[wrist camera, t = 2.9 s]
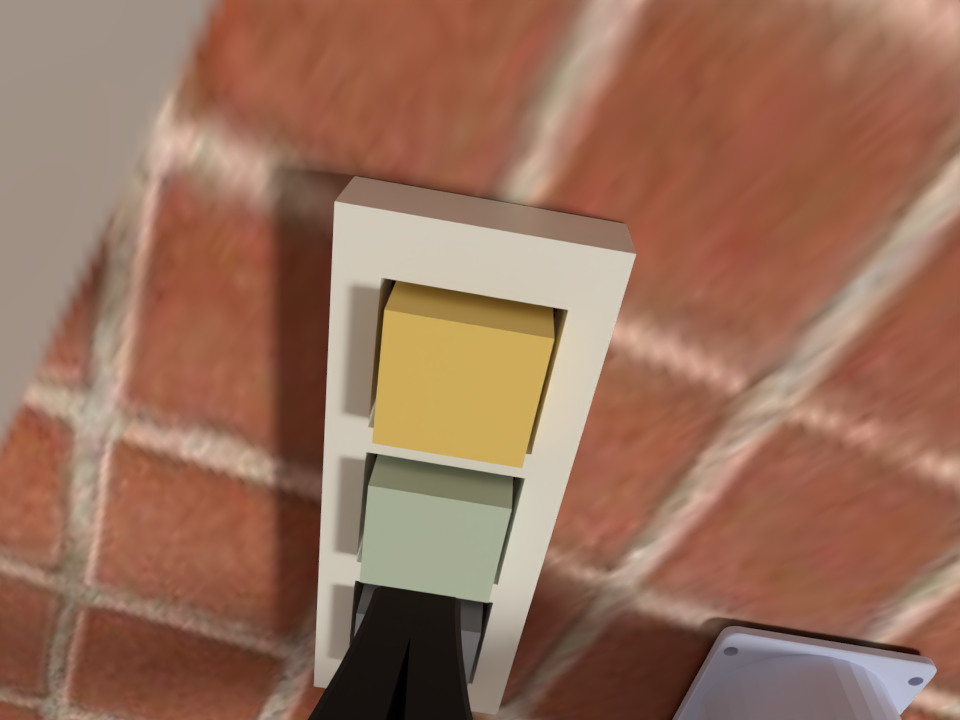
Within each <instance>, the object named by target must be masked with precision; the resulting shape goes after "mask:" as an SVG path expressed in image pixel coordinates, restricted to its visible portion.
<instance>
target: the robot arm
mask: <svg viewBox="0 0 960 720" xmlns="http://www.w3.org/2000/svg"><path fill="white" fill-rule="evenodd" d="M936 671H937V670H936V667H935V665H934V663H933V662H932V660H931V659H930V658H927V657H924V656H919V655H912V654H906V653H900V652H894V651H888V650H882V649H876V648H869V647H863V646H857V645H851V644H845V643H839V642H833V641H826V640H820V639H814V638H808V637H802V636H796V635H790V634H783V633H777V632H771V631H765V630H759V629H753V628H747V627H740V626H730V627H727V628H725V629H723V630H722V631H721V632H720V634H719V636H718V638H717V639H716V641H715V643H714V645H713V647H712V649H711V650H710V652H709V654H708V656H707V658H706V659H705V661H704V663H703V665H702V667H701V668H700V670H699V672H698V674H697V676H696V678H695V679H694V681H693V683H692V685H691V687H690V688H689V690H688V692H687V694H686V696H685V697H684V699H683V701H682V703H681V705H680V707H679V708H678V710H677V712H676V714H675V716H674V717H673V719H672V720H901V718H900V714H901V713H902V712H903V711H904V710H905V709H906V707H907V706H908V705H909V704H910V703H911V702H912V701H913V699H914V698H915V697H916V696H917V695H918V694H919V692H920V691H921V690H922V689H923V688H924V687H925V686H926V684H927V683H928V682H929V681H930V680H931V679H932V677H933V676H934V675H935V673H936ZM308 720H473V718H472V713H471V707H470V702H469V696H468V690H467V683H466V675H465V668H464V660H463V650H462V638H461V602H460V601H459V600H458V599H457V598H456V597H452V596H446V595H439V594H433V593H426V592H420V591H413V590H407V589H401V588H394V587H388V586H380V587H378V588H376V589H374V592H373V595H372V597H371V600H370V603H369V606H368V608H367V610H366V613H365V615H364V617H363V620H362V622H361V624H360V626H359V629H358V631H357V633H356V635H355V637H354V639H353V641H352V643H351V645H350V647H349V649H348V650H347V652H346V654H345V656H344V658H343V660H342V662H341V664H340V666H339V667H338V669H337V671H336V673H335V674H334V676H333V678H332V679H331V681H330V683H329V685H328V686H327V688H326V690H325V692H324V693H323V695H322V697H321V698H320V700H319V702H318V704H317V705H316V707H315V709H314V710H313V712H312V714H311V715H310V717H309V718H308Z"/></svg>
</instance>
